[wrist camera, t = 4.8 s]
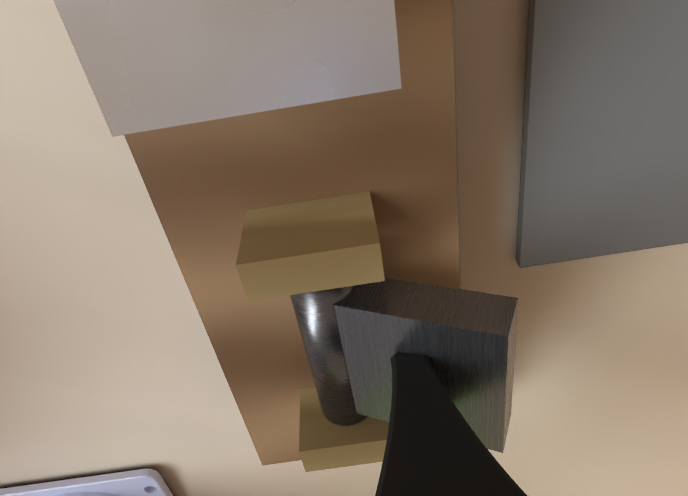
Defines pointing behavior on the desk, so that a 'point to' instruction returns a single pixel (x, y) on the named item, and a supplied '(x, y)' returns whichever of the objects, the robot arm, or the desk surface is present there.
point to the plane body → (311, 227)
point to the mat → (603, 129)
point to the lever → (410, 349)
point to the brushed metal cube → (228, 56)
